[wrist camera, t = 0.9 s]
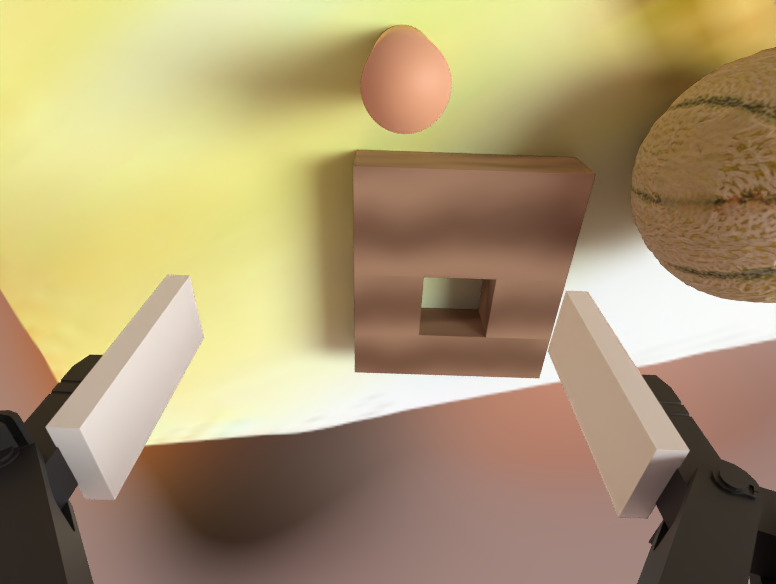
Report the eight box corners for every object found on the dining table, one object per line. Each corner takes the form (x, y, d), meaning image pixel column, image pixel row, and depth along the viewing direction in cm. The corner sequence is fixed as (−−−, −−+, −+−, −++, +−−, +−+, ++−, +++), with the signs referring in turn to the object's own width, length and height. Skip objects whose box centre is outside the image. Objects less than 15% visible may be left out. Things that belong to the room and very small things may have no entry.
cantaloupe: (569, 228, 37) (662, 347, 24) (646, 16, 29) (843, 24, 16) (745, 249, 37) (926, 375, 25) (865, 47, 30) (1219, 79, 17)
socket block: (357, 149, 34) (353, 166, 30) (575, 157, 34) (595, 174, 30) (358, 343, 43) (354, 372, 40) (527, 348, 43) (539, 378, 40)
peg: (372, 23, 29) (360, 33, 19) (435, 26, 29) (456, 37, 19) (371, 91, 31) (360, 132, 21) (429, 93, 31) (446, 135, 21)
